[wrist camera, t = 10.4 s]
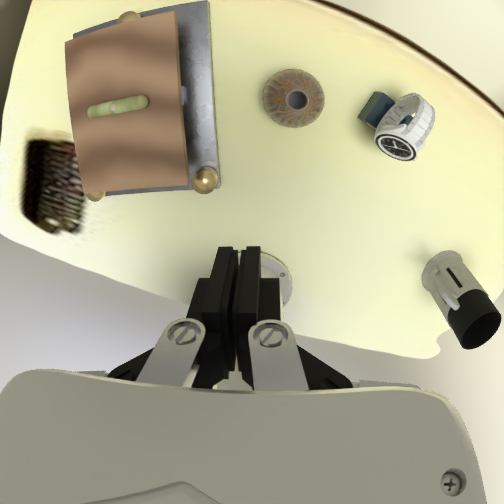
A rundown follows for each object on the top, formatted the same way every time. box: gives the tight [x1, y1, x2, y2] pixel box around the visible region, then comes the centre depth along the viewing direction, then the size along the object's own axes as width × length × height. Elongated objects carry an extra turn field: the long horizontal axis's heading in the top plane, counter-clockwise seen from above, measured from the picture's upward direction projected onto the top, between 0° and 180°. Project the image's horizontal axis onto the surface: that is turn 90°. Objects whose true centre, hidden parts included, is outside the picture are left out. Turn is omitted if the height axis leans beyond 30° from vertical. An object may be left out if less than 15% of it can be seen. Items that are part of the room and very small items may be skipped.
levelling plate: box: [65, 11, 190, 194], centre depth 29 cm, size 20×14×3 cm
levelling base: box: [73, 0, 221, 202], centre depth 33 cm, size 25×19×6 cm
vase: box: [263, 69, 324, 128], centre depth 31 cm, size 7×7×9 cm
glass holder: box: [422, 251, 501, 349], centre depth 39 cm, size 9×14×15 cm, turn 60°
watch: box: [358, 92, 435, 161], centre depth 30 cm, size 6×8×11 cm
